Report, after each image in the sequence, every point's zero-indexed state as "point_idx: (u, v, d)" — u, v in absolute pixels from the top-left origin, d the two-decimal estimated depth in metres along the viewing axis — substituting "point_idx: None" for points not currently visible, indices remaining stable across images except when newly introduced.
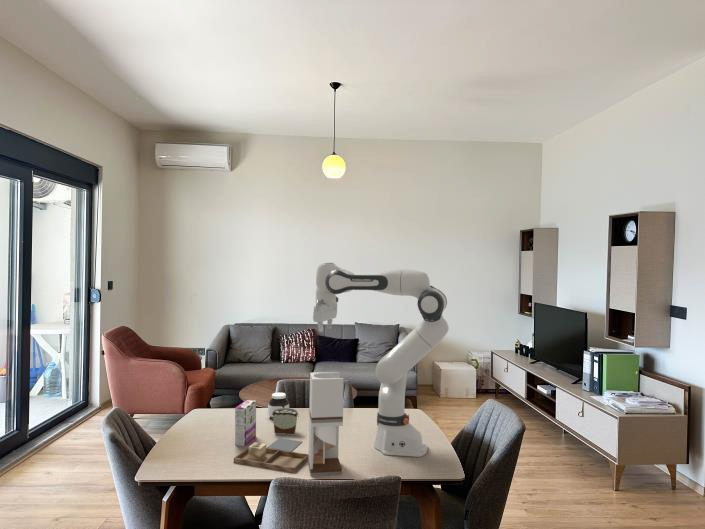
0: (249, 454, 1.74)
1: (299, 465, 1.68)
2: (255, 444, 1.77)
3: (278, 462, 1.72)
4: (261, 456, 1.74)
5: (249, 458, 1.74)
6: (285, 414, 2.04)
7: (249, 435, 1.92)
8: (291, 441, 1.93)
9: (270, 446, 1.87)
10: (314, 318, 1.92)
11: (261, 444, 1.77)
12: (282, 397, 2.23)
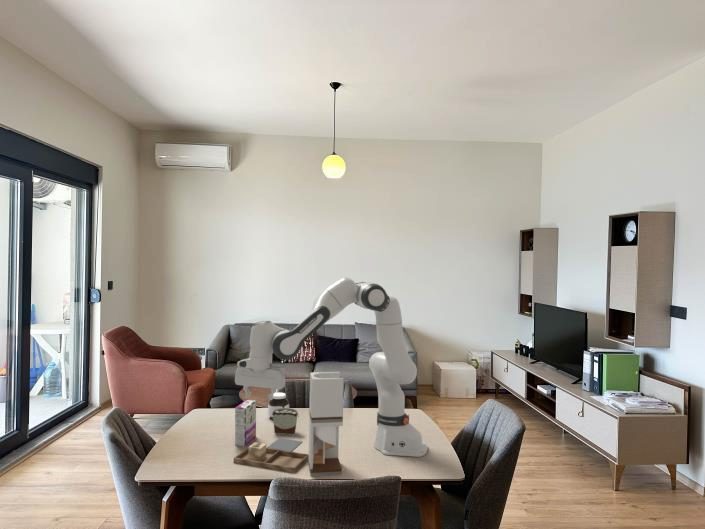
0: (249, 454, 1.74)
1: (299, 465, 1.68)
2: (255, 444, 1.77)
3: (278, 462, 1.72)
4: (261, 456, 1.74)
5: (249, 458, 1.74)
6: (285, 414, 2.04)
7: (249, 435, 1.92)
8: (291, 441, 1.93)
9: (270, 446, 1.87)
10: (282, 385, 1.72)
11: (261, 444, 1.77)
12: (282, 397, 2.23)
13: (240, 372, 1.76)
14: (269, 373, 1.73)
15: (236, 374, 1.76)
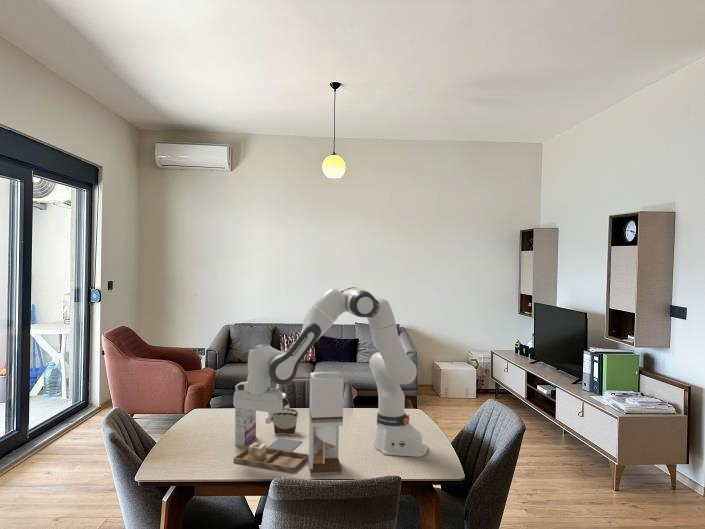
0: (249, 454, 1.74)
1: (299, 465, 1.68)
2: (255, 444, 1.77)
3: (278, 462, 1.72)
4: (261, 456, 1.74)
5: (249, 458, 1.74)
6: (285, 414, 2.04)
7: (249, 435, 1.92)
8: (291, 441, 1.93)
9: (270, 446, 1.87)
10: (279, 409, 1.72)
11: (261, 444, 1.77)
12: (282, 397, 2.23)
13: (238, 395, 1.77)
14: (267, 396, 1.73)
15: (234, 397, 1.77)
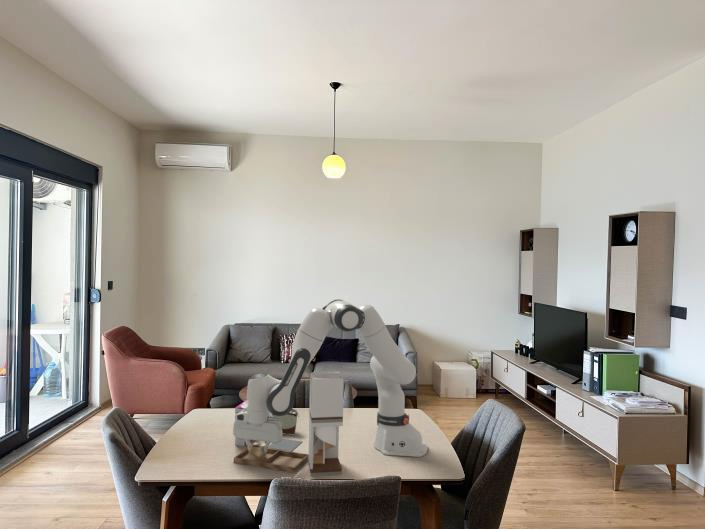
0: (249, 454, 1.74)
1: (299, 465, 1.68)
2: (255, 444, 1.77)
3: (278, 462, 1.72)
4: (261, 456, 1.74)
5: (249, 458, 1.74)
6: None
7: None
8: (291, 441, 1.93)
9: (270, 446, 1.87)
10: (279, 439, 1.72)
11: (261, 444, 1.77)
12: None
13: (238, 425, 1.77)
14: (266, 426, 1.73)
15: (234, 427, 1.77)
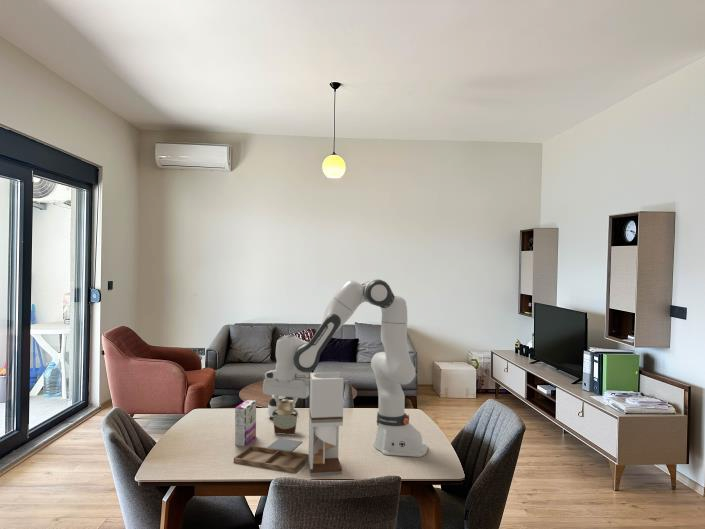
0: (278, 409, 1.88)
1: (299, 465, 1.68)
2: (283, 400, 1.90)
3: (278, 462, 1.72)
4: (289, 411, 1.87)
5: (278, 413, 1.88)
6: None
7: (249, 435, 1.92)
8: (291, 441, 1.93)
9: (270, 446, 1.87)
10: (306, 394, 1.85)
11: (289, 400, 1.90)
12: (282, 397, 2.23)
13: (267, 383, 1.90)
14: (294, 383, 1.86)
15: (264, 384, 1.90)
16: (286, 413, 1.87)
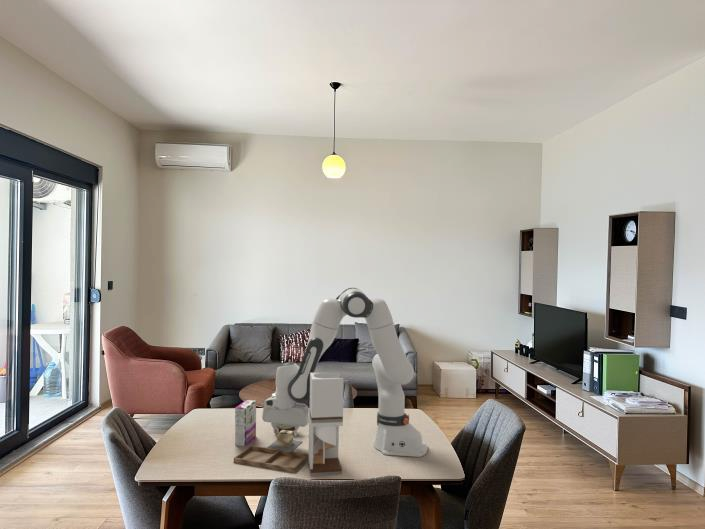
0: (278, 440, 1.88)
1: (299, 465, 1.68)
2: (283, 431, 1.90)
3: (278, 462, 1.72)
4: (289, 442, 1.87)
5: (278, 444, 1.88)
6: None
7: (249, 435, 1.92)
8: None
9: (270, 446, 1.87)
10: (306, 423, 1.86)
11: (288, 431, 1.90)
12: None
13: (267, 410, 1.90)
14: (294, 411, 1.86)
15: (263, 412, 1.90)
16: (285, 445, 1.87)
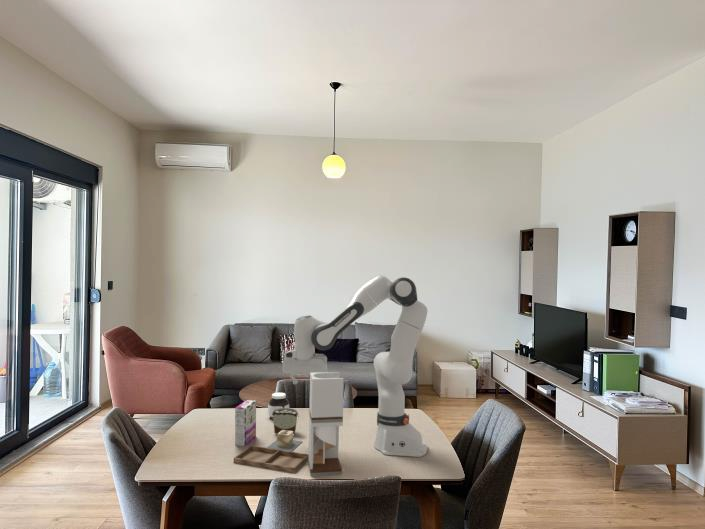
0: (278, 440, 1.88)
1: (299, 465, 1.68)
2: (283, 431, 1.90)
3: (278, 462, 1.72)
4: (289, 442, 1.87)
5: (278, 444, 1.88)
6: (285, 414, 2.04)
7: (249, 435, 1.92)
8: None
9: (270, 446, 1.87)
10: None
11: (288, 431, 1.90)
12: (282, 397, 2.23)
13: (286, 362, 1.98)
14: (313, 361, 1.94)
15: (283, 364, 1.98)
16: (285, 445, 1.87)
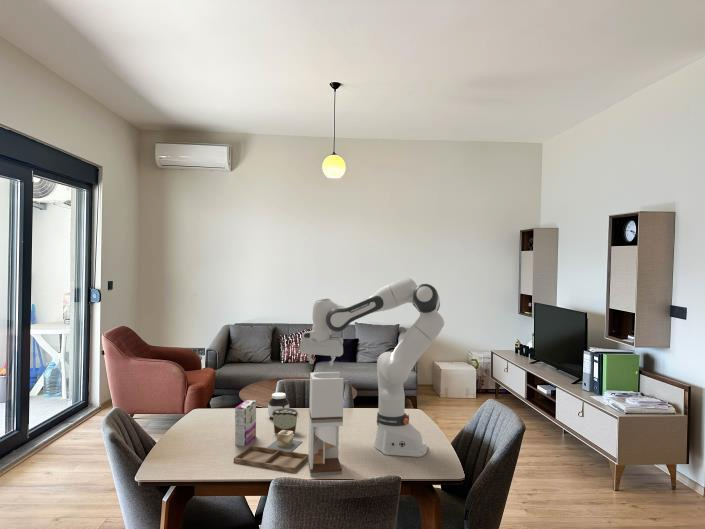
0: (278, 440, 1.88)
1: (299, 465, 1.68)
2: (283, 431, 1.90)
3: (278, 462, 1.72)
4: (289, 442, 1.87)
5: (278, 444, 1.88)
6: (285, 414, 2.04)
7: (249, 435, 1.92)
8: None
9: (270, 446, 1.87)
10: (341, 353, 2.02)
11: (288, 431, 1.90)
12: (282, 397, 2.23)
13: (304, 343, 2.06)
14: (330, 342, 2.03)
15: (301, 344, 2.07)
16: (285, 445, 1.87)
